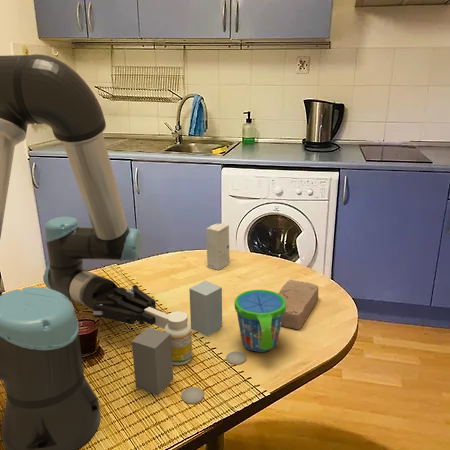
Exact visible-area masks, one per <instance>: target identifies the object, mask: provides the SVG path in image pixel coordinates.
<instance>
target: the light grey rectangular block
mask: <svg viewBox="0 0 450 450" xmlns="http://www.w3.org/2000/svg"><path fill="white" fill-rule="evenodd" d="M189 310H190V326H191V330H193V331H196V332H198V333H200V334H202V335H203V336H206V337H208V336H210V335H212V334H213V333H215V332H216V331H218V330H220V329H221V328H222V327H223V287H222V286H219V285H218V284H216V283H215V284H214V283H212V282H210V281H207V280H204V281H202V282H199V283H197V284H195V285H194V286H191V287H190V288H189Z"/></svg>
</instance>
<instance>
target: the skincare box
mask: <svg viewBox="0 0 450 450" xmlns="http://www.w3.org/2000/svg"><path fill="white" fill-rule="evenodd" d="M229 227H230V225H229V224H227V223H226V224H225V223H220V222H217V223H214V224H212V225H209V226H208V227H206V229H205V230H206V231H205V233H206V237H205V238H206V262H207V263H206V266H207V268H209V269H212V270H217V271H220V270H222V269H223V268H224V267H227V266H228V265H229V264H230V228H229Z"/></svg>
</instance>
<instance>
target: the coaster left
mask: <svg viewBox="0 0 450 450" xmlns="http://www.w3.org/2000/svg"><path fill="white" fill-rule="evenodd" d="M204 394H205V393H204V391H203V389H201V388H200V387H197V386H192V387H187V388H185V389H183V391H182V392H181V396H180V397H181V400H182V401H183V402H184V403H186V404H189V405H192V404H193V405H195V404H199V403H200V402H201V401H203V399H204V396H205V395H204Z"/></svg>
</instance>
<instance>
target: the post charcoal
mask: <svg viewBox="0 0 450 450" xmlns="http://www.w3.org/2000/svg"><path fill="white" fill-rule="evenodd" d="M131 348H132V349H131V353H132V360H133V371H134V374H133V375H134V384H135V388H136V389H138V390H141V391H144V392H147V393H150V394H153V395H155V396H160V395H161V394H162V392H164V391H165V389H166V388H167V387H168V386H169V385H170V384H171V383H172V381H174V370H173V369H174V368H173V367H174V365H173V364H172V346H171V334H170V333H166V332H164V330H163V331H162V330H159V329H156V328H152V327H147V328H146V329H144V330H143V331H142V332H141V333H140V334H138V335H137V336H136V337H134V339H133V340H131Z"/></svg>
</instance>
